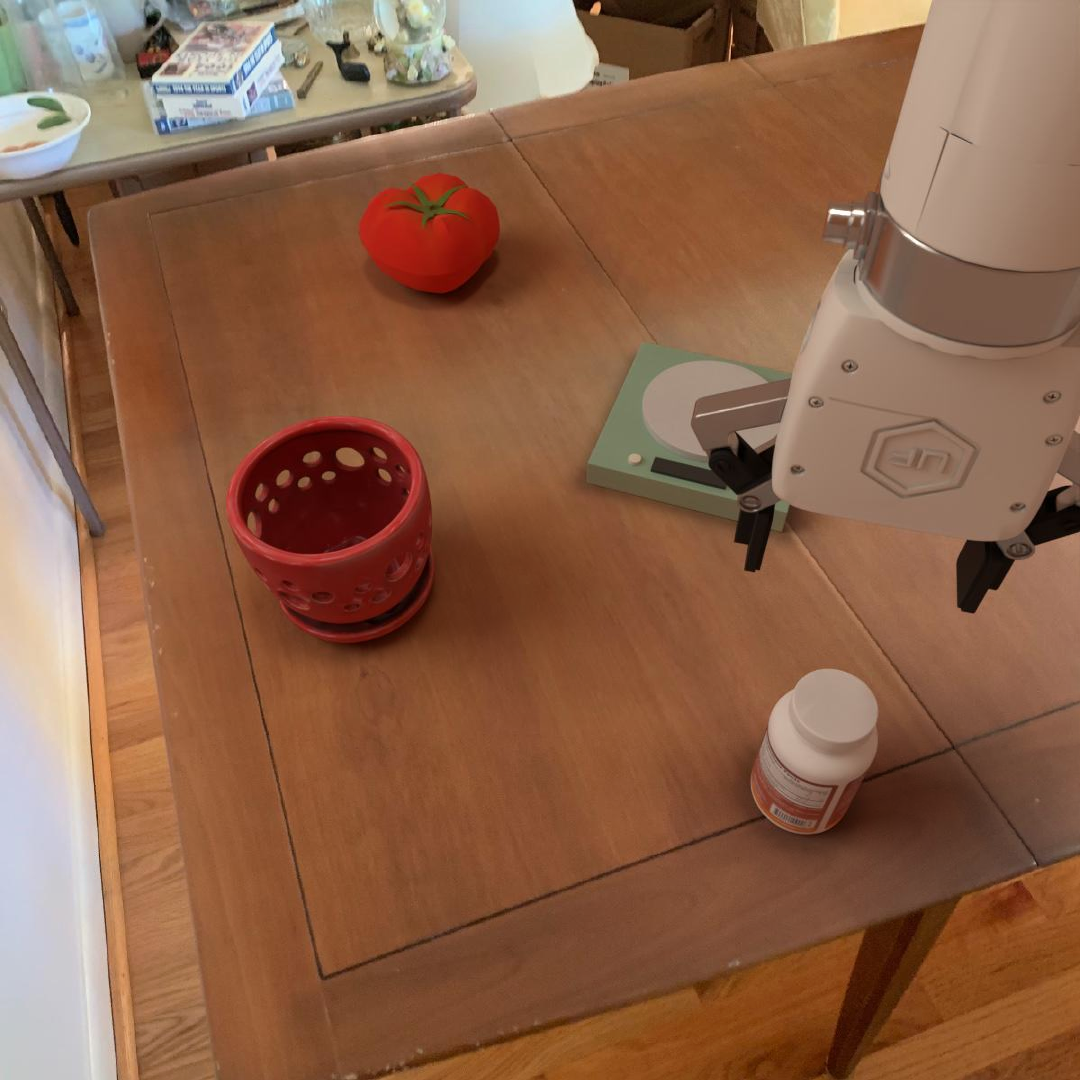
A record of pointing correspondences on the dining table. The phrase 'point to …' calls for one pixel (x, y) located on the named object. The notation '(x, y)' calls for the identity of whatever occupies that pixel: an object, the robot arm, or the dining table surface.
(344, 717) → the dining table surface
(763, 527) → the robot arm
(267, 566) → the flower pot
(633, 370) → the scale
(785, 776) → the pill bottle
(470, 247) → the tomato
